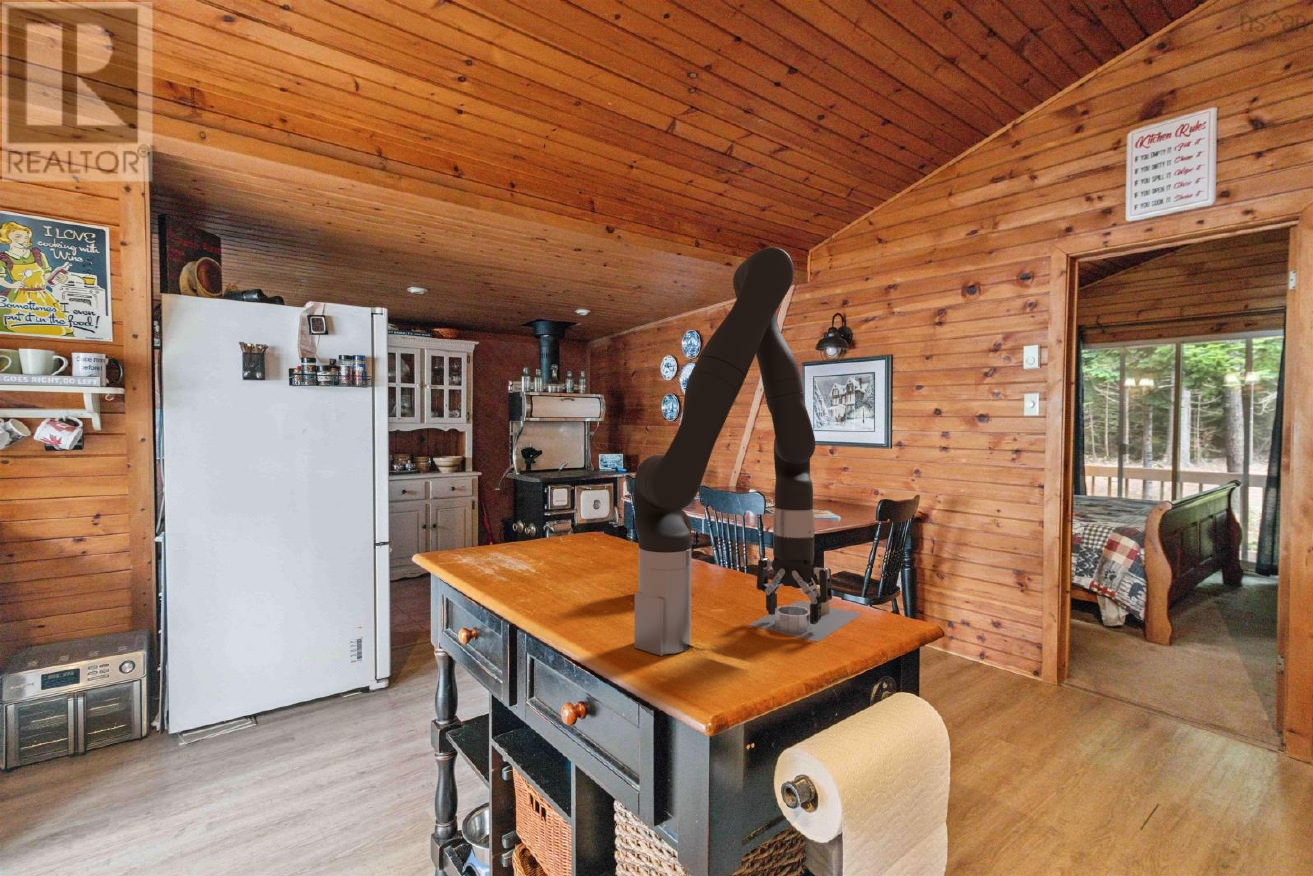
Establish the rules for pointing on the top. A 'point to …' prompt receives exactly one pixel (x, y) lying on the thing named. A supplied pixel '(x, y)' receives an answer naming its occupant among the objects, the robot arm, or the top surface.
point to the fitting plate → (824, 627)
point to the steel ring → (792, 619)
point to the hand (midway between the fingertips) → (793, 618)
